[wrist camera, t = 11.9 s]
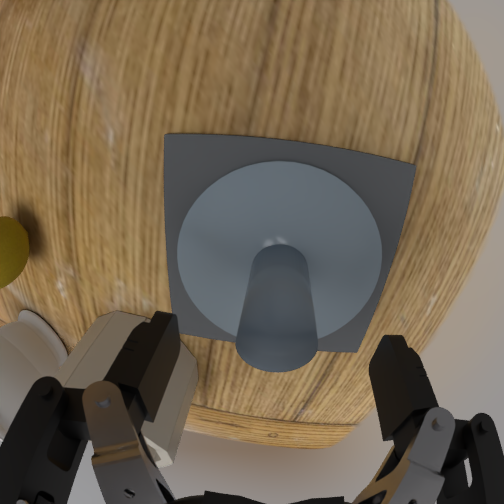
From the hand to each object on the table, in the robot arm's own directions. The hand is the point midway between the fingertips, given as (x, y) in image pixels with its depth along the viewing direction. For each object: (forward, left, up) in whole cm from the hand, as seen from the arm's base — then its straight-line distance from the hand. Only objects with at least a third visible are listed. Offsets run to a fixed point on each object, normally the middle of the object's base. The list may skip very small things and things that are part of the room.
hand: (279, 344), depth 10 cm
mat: (0, 0, -8) cm, 8 cm away
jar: (+15, -26, -8) cm, 31 cm away
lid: (0, 0, -7) cm, 7 cm away
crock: (+12, -11, -8) cm, 18 cm away
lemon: (+1, -22, -8) cm, 23 cm away
